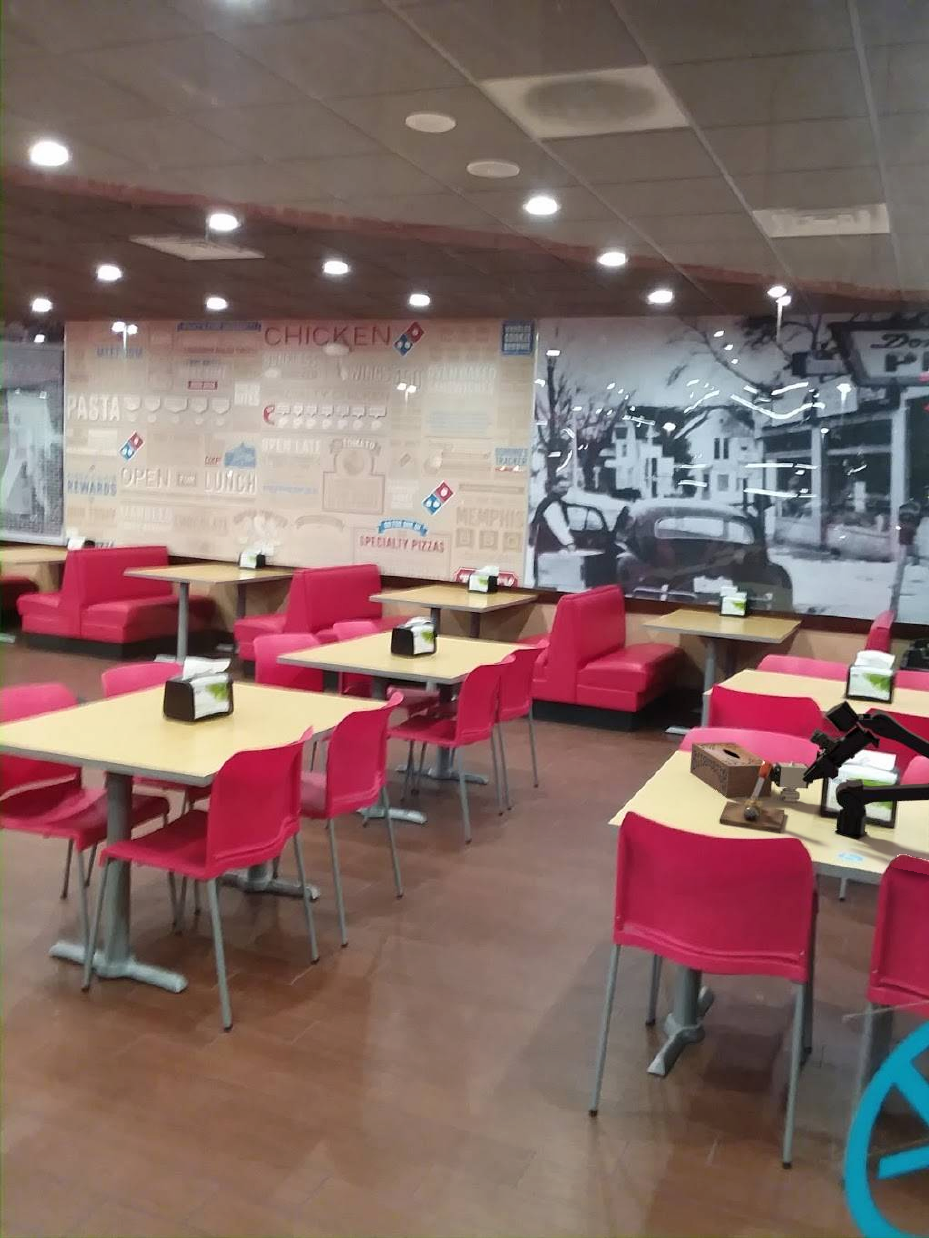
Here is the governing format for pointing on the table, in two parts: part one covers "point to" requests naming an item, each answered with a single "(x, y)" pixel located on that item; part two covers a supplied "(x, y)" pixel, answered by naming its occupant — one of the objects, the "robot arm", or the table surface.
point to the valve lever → (762, 777)
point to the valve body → (752, 809)
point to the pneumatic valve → (789, 779)
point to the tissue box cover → (728, 769)
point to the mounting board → (767, 821)
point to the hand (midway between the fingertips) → (803, 778)
